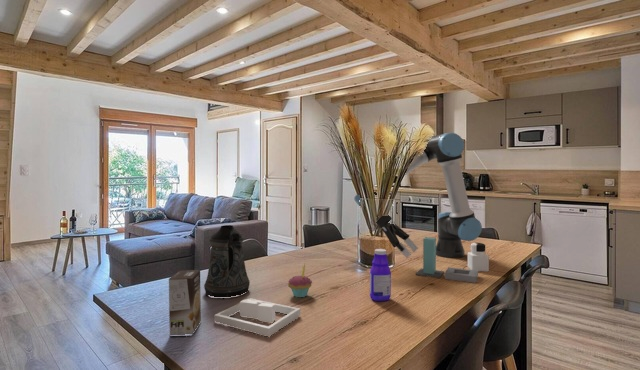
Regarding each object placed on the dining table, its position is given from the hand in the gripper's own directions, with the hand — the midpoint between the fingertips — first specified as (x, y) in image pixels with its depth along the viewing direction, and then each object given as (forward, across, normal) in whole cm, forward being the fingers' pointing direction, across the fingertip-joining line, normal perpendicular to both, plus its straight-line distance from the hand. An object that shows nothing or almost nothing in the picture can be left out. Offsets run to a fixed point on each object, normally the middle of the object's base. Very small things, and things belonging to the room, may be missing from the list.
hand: (412, 253), depth 158 cm
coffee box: (-24, +88, -37) cm, 99 cm away
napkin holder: (-14, +74, -28) cm, 80 cm away
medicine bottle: (+24, -17, +12) cm, 32 cm away
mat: (+11, 0, -1) cm, 11 cm away
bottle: (+5, +40, -8) cm, 41 cm away
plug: (+11, 0, 0) cm, 11 cm away
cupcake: (-14, +50, -27) cm, 58 cm away
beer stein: (-32, +58, -45) cm, 80 cm away
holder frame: (-15, +74, -27) cm, 80 cm away
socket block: (+20, 0, +9) cm, 22 cm away
